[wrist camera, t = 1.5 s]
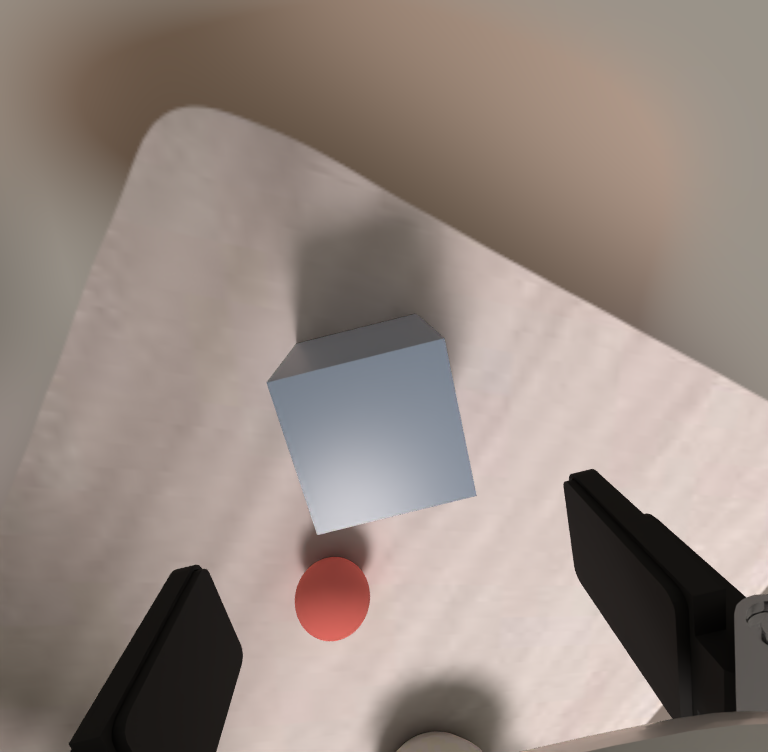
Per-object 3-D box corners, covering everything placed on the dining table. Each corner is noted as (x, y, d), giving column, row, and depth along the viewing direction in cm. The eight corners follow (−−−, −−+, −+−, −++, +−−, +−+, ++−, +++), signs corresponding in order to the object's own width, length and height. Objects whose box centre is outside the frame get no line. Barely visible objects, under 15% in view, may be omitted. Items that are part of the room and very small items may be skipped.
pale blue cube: (440, 425, 28) (476, 495, 20) (329, 452, 28) (317, 535, 20) (416, 313, 26) (444, 338, 18) (296, 343, 26) (266, 382, 18)
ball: (376, 590, 31) (379, 649, 26) (311, 605, 31) (302, 668, 27) (359, 534, 30) (359, 586, 25) (291, 550, 30) (278, 606, 25)
